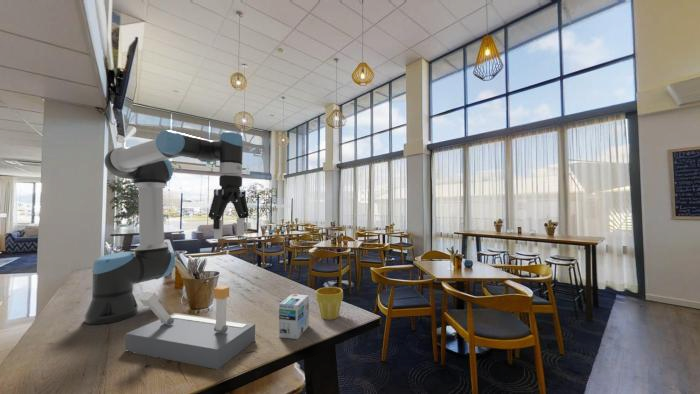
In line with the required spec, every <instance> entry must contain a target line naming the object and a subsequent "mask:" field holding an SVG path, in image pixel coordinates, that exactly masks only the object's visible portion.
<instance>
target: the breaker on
mask: <svg viewBox="0 0 700 394" xmlns="http://www.w3.org/2000/svg"><path fill="white" fill-rule="evenodd" d="M138 301H139V302H141V304H143V306H146V307H148V308H149V309H150V310H151V311H152V312H153V313H154V315H155V316H156V317H157V318H158V320H159V319H160V320H161V323H164V324H172V323H173V322H174V319H173V318H171V316H170V315H171V314H169V313H168V311H167V310H166V309H165V308H164V306H163V305H162V304H161V303H160V298H159V296H158V295H157V294H156V292H152V291H151V292H149V291H146V292H145V293H144V294H143V295H142V296H140V298H139V299H138Z"/></svg>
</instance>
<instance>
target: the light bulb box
mask: <svg viewBox="0 0 700 394" xmlns="http://www.w3.org/2000/svg"><path fill="white" fill-rule="evenodd" d="M278 308H279V310H278V338H284V339H293V340H299V338H300V337H301V336H302V334H303V333H304V332H305V331H306V330H307V328H309V324H310V295H307V294H298V293H297V294H296V293H292V294H290V295H289V296H288V297H285V299H284V300H282V301H280V303H279V304H278Z"/></svg>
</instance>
